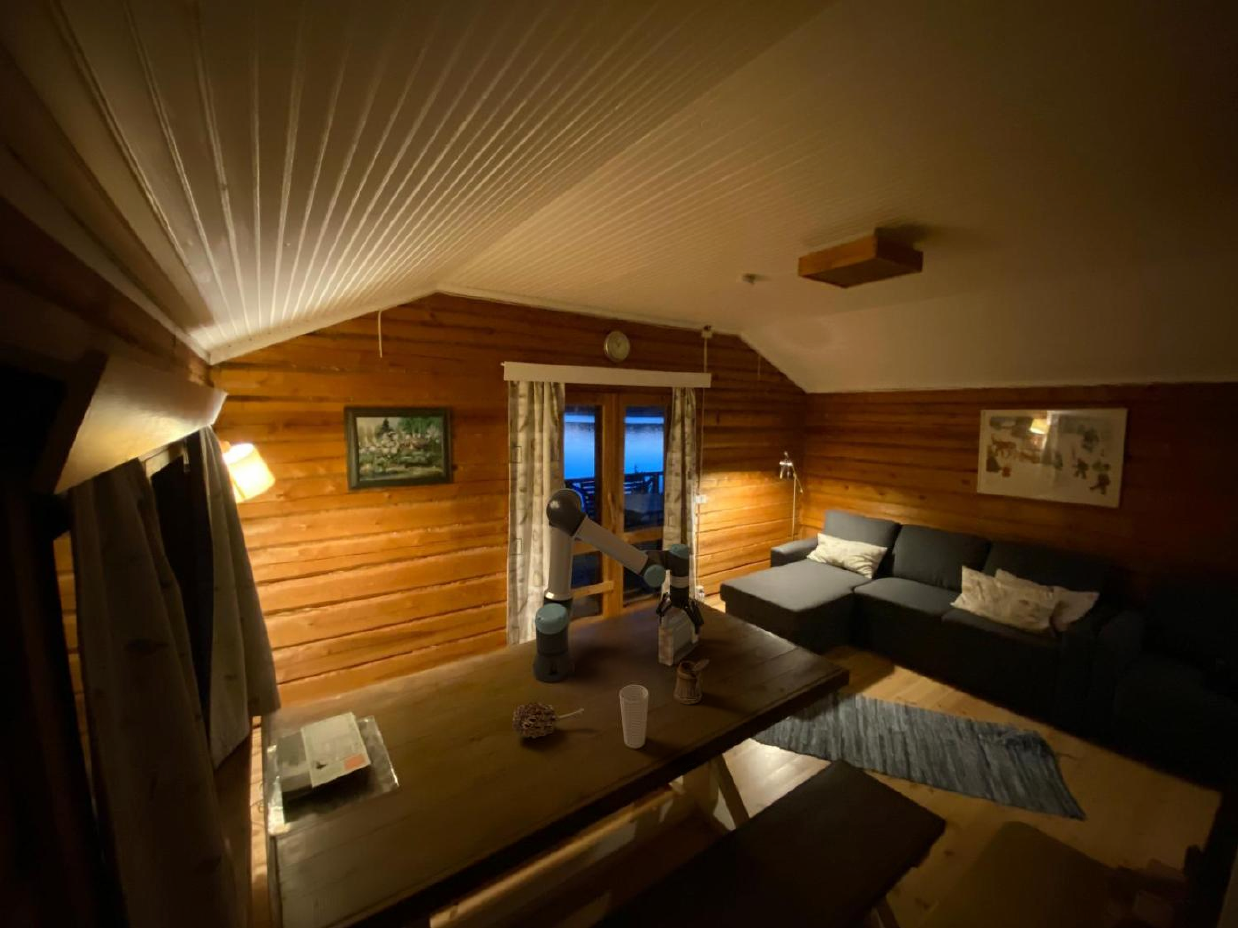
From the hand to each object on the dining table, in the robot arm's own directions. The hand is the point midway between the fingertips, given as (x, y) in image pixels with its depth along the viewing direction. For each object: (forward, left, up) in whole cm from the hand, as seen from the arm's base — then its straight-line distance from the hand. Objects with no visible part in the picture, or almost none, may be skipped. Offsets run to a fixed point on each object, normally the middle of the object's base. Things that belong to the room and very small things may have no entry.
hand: (679, 636), depth 198 cm
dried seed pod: (-9, -63, -6) cm, 64 cm away
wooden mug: (+19, -25, -6) cm, 32 cm away
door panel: (0, 0, -6) cm, 6 cm away
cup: (+15, -52, -6) cm, 54 cm away
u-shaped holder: (0, 0, -6) cm, 6 cm away
